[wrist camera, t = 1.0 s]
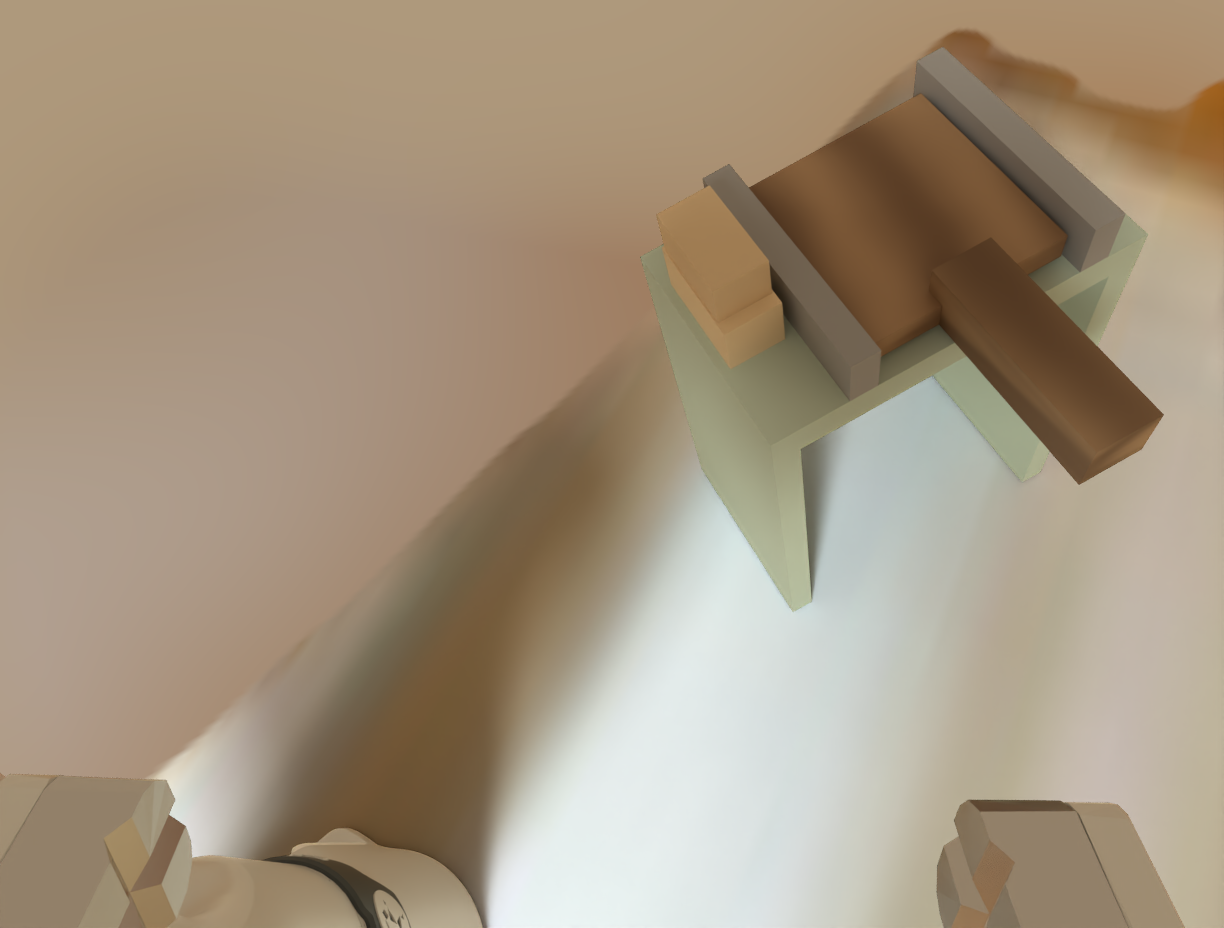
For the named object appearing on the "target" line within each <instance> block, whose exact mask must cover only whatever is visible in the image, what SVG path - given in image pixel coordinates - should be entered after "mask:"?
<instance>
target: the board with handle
mask: <svg viewBox="0 0 1224 928" xmlns="http://www.w3.org/2000/svg"><path fill="white" fill-rule="evenodd" d="M749 189H750V190H751V191H752V193H753V194H754V195H755V196H756V197H757V199H758V200H759V201H760V202H761V204H762V205H763V206H764V207H765V208H766V210H767V211H768V212H769V213H770V215H771V216H772V217H773V218H774V219H775V221H776V222H777V223H778V224H779V226H780V227H781V228H782V229H783V231H784V232H785V233H786V234H787V235H788V237H789V238H790V239H791V240H792V242H793V243H794V244H795V245H796V246H797V248H798V249H799V250H800V251H801V253H802V254H803V255H804V256H805V257H806V259H807V260H808V261H809V262H810V264H811V265H812V266H813V267H814V268H815V270H816V271H817V272H818V273H819V275H820V276H821V277H822V278H823V279H824V281H825V282H826V283H827V284H828V286H829V287H830V288H831V289H832V290H833V292H834V293H835V294H836V295H837V297H838V298H839V299H840V300H841V302H842V303H843V304H844V305H845V306H846V308H847V309H848V310H849V311H850V313H851V314H852V315H853V316H854V317H855V319H856V320H857V321H858V322H859V324H860V325H861V326H862V327H863V328H864V330H865V331H866V332H867V333H868V335H869V336H870V337H871V338H872V339H873V341H874V342H875V343H876V344H877V346H878V347H879V348H880V349H881V357H882V356H884V355H885V354H887V353H889V352H891V351H892V350H894V349H896V348H898V347H900V346H901V345H903V344H905V343H907V342H909V341H910V340H912V339H914V338H916V337H918V336H919V335H921V334H923V333H925V332H926V331H928V330H930V329H932V328H934V327H935V326H937V325H940V326H941V327H942V329H943V330H944V331H945V332H946V333H947V334H948V335H949V337H950V338H951V339H952V340H953V341H954V342H955V343H956V345H957V346H958V347H959V348H960V349H961V350H962V351H963V353H964V354H965V355H966V356H967V357H968V358H969V359H970V361H971V362H972V363H973V364H974V365H975V366H976V367H977V369H978V370H979V371H980V372H981V373H982V374H983V376H984V377H985V378H986V379H987V380H988V381H989V382H990V384H991V385H992V386H993V387H994V388H995V389H996V390H997V392H998V393H999V394H1000V395H1001V396H1002V397H1003V398H1004V400H1005V401H1006V402H1007V403H1008V404H1009V405H1010V406H1011V408H1012V409H1013V410H1014V411H1015V412H1016V413H1017V414H1018V416H1019V417H1020V418H1021V419H1022V420H1023V421H1024V422H1025V424H1026V425H1027V426H1028V427H1029V428H1030V429H1031V430H1032V432H1033V433H1034V434H1035V435H1036V436H1037V437H1038V438H1039V440H1040V441H1041V442H1042V443H1043V444H1044V445H1045V446H1046V448H1047V449H1048V450H1049V451H1050V452H1051V453H1052V455H1053V456H1054V457H1055V458H1056V459H1057V460H1058V461H1059V463H1060V464H1061V465H1062V466H1063V467H1064V468H1065V469H1066V471H1067V472H1068V473H1069V474H1070V475H1071V476H1072V477H1073V479H1074V480H1075V481H1076V482H1077V483H1078V484H1079V485H1080V484H1081V483H1083V482H1085V481H1087V480H1088V479H1090V478H1092V477H1094V476H1095V475H1097V474H1099V473H1101V472H1102V471H1104V470H1106V469H1108V468H1110V467H1111V466H1113V465H1115V464H1117V463H1118V462H1120V461H1122V460H1124V459H1125V458H1127V457H1129V456H1131V455H1132V454H1134V453H1136V452H1138V451H1139V450H1141V449H1142V448H1143V446H1144V445H1145V443H1146V442H1147V440H1148V439H1149V437H1150V435H1151V434H1152V432H1153V431H1154V429H1155V428H1156V426H1157V425H1158V423H1159V421H1160V420H1161V418H1162V417H1163V415H1164V414H1163V413H1162V412H1161V411H1160V410H1159V409H1158V408H1157V407H1156V406H1155V405H1154V404H1153V403H1152V402H1151V401H1150V400H1149V399H1148V398H1147V397H1146V396H1145V395H1144V394H1143V393H1142V392H1141V391H1140V390H1139V389H1138V388H1137V387H1136V386H1135V385H1134V384H1133V383H1132V382H1131V381H1130V380H1129V378H1128V377H1127V376H1126V375H1125V374H1124V373H1123V372H1122V371H1121V370H1120V369H1119V368H1118V367H1117V366H1116V365H1115V364H1114V363H1113V362H1112V361H1111V360H1110V359H1109V358H1108V357H1107V356H1106V355H1105V354H1104V353H1103V352H1102V351H1101V350H1100V349H1099V348H1098V347H1097V346H1096V345H1095V344H1094V342H1093V341H1092V340H1091V339H1090V338H1089V337H1088V336H1087V335H1086V334H1085V333H1084V332H1083V331H1082V330H1081V329H1080V328H1079V327H1078V326H1077V325H1076V324H1075V323H1074V322H1073V321H1072V320H1071V319H1070V318H1069V317H1068V316H1067V315H1066V314H1065V313H1064V312H1063V311H1062V310H1061V309H1060V308H1059V306H1058V305H1057V304H1056V303H1055V302H1054V301H1053V300H1052V299H1051V298H1050V297H1049V296H1048V295H1047V294H1046V293H1045V292H1044V291H1043V290H1042V289H1041V288H1040V287H1039V286H1038V285H1037V284H1036V283H1035V282H1034V281H1033V280H1032V279H1031V278H1030V277H1029V276H1028V274H1030V273H1032V272H1034V271H1036V270H1037V269H1039V268H1041V267H1043V266H1045V265H1046V264H1048V263H1050V262H1052V261H1054V260H1055V259H1057V258H1059V257H1061V255H1062V252H1063V249H1064V246H1065V243H1066V240H1067V237H1068V235H1067V234H1066V233H1065V232H1064V231H1063V230H1062V229H1061V228H1060V227H1059V226H1058V225H1057V224H1055V223H1054V222H1053V221H1052V220H1051V219H1050V218H1049V217H1048V216H1047V215H1046V214H1045V213H1044V212H1043V211H1042V210H1041V209H1040V208H1039V207H1038V206H1037V205H1036V204H1035V203H1034V202H1033V201H1032V200H1031V199H1030V198H1029V197H1028V196H1027V195H1026V194H1024V193H1023V192H1022V191H1021V190H1020V189H1019V188H1018V187H1017V186H1016V185H1015V184H1014V183H1013V182H1012V181H1011V180H1010V179H1009V178H1008V177H1007V176H1006V175H1005V174H1004V173H1003V172H1002V171H1001V170H1000V169H999V168H998V167H997V166H996V165H995V164H994V163H992V162H991V161H990V160H989V159H988V158H987V157H986V156H985V155H984V154H983V153H982V152H981V151H980V150H979V149H978V148H977V147H976V146H975V145H974V144H973V143H972V142H971V141H970V140H969V139H968V138H967V137H966V136H965V135H964V134H963V133H962V132H960V131H959V130H958V129H957V128H956V127H955V126H954V125H953V124H952V123H951V122H950V121H949V120H948V119H947V118H946V117H945V116H944V115H943V114H942V113H941V112H940V111H939V110H938V109H937V108H936V107H935V106H934V105H933V104H932V103H931V102H930V101H928V100H927V99H926V98H925V97H924V96H923V95H922V94H921V93H920V94H919V95H917V96H915V97H913V98H911V99H910V100H908V101H906V102H904V103H902V104H900V105H899V106H897V107H895V108H893V109H891V110H890V111H888V112H886V113H884V114H882V115H880V116H879V117H877V118H875V119H873V120H871V121H870V122H868V123H866V124H864V125H862V126H860V127H859V128H857V129H855V130H853V131H851V132H850V133H848V134H846V135H844V136H842V137H840V138H839V139H837V140H835V141H833V142H831V143H829V144H828V145H826V146H824V147H822V148H820V149H819V150H817V151H815V152H813V153H811V154H810V155H808V156H806V157H804V158H802V159H800V160H799V161H797V162H795V163H793V164H791V165H790V166H788V167H786V168H784V169H782V170H780V171H779V172H777V173H775V174H773V175H772V176H769V177H768V178H766V179H764V180H762V181H760V182H759V183H757V184H755V185H753V186H751V187H749Z"/></svg>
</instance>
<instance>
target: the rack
mask: <svg viewBox="0 0 1224 928" xmlns="http://www.w3.org/2000/svg"><path fill="white" fill-rule="evenodd" d="M920 93H921V94H922V95H923V96H924V97H925V98H926V99H927V100H928V101H930V102H931V103H932V104H933V105H934V106H935V107H936V108H937V109H938V110H939V111H940V112H941V113H942V114H943V115H944V116H945V117H946V118H947V119H948V120H949V121H950V122H951V123H952V124H953V125H954V126H955V127H956V128H957V129H958V130H959V131H960V132H962V133H963V134H964V135H965V136H966V137H967V138H968V139H969V140H970V141H971V142H972V143H973V144H974V145H975V146H976V147H977V148H978V149H979V150H980V151H981V152H982V153H983V154H984V155H985V156H986V157H987V158H988V159H989V160H990V161H991V162H992V163H994V164H995V165H996V166H997V167H998V168H999V169H1000V170H1001V171H1002V172H1003V173H1004V174H1005V175H1006V176H1007V177H1008V178H1009V179H1010V180H1011V181H1012V182H1013V183H1014V184H1015V185H1016V186H1017V187H1018V188H1019V189H1020V190H1021V191H1022V192H1023V193H1024V194H1026V195H1027V196H1028V197H1029V198H1030V199H1031V200H1032V201H1033V202H1034V203H1035V204H1036V205H1037V206H1038V207H1039V208H1040V209H1041V210H1042V211H1043V212H1044V213H1045V214H1046V215H1047V216H1048V217H1049V218H1050V219H1051V220H1052V221H1053V222H1054V223H1055V224H1057V225H1058V226H1059V227H1060V228H1061V229H1062V230H1063V231H1064V232H1065V233H1066V234H1067V235H1068V237H1067V240H1066V243H1065V246H1064V249H1063V252H1062V255H1061V257H1059V258H1057V259H1055V260H1054V261H1052V262H1050V263H1048V264H1046V265H1045V266H1043V267H1041V268H1039V269H1037V270H1036V271H1034V272H1032V273H1030V274H1028V276H1029V277H1030V278H1031V279H1032V280H1033V281H1034V282H1035V283H1036V284H1037V285H1038V286H1039V287H1040V288H1041V289H1042V290H1043V291H1044V292H1045V293H1046V294H1047V295H1048V296H1049V297H1050V298H1051V299H1052V300H1053V301H1054V302H1055V303H1056V304H1057V305H1058V306H1059V308H1060V309H1061V310H1062V311H1063V312H1064V313H1065V314H1066V315H1067V316H1068V317H1069V318H1070V319H1071V320H1072V321H1073V322H1074V323H1075V324H1076V325H1077V326H1078V327H1079V328H1080V329H1081V330H1082V331H1083V332H1084V333H1085V334H1086V335H1087V336H1088V337H1089V338H1090V339H1091V340H1092V341H1093V342H1094V344H1095V345H1096V346H1098V344H1099V342H1100V340H1101V337H1102V335H1103V333H1104V331H1105V329H1106V326H1107V324H1108V322H1109V320H1110V317H1111V315H1112V313H1113V311H1114V309H1115V306H1116V304H1117V302H1118V300H1119V298H1120V295H1121V293H1122V291H1123V289H1124V287H1125V284H1126V282H1127V280H1128V278H1129V276H1130V273H1131V271H1132V269H1133V267H1134V265H1135V262H1136V260H1137V258H1138V256H1139V254H1140V251H1141V249H1142V247H1143V245H1144V243H1145V240H1146V238H1147V236H1148V234H1147V233H1146V232H1145V231H1144V230H1143V229H1142V228H1141V227H1140V226H1138V225H1137V224H1136V223H1135V222H1134V221H1133V220H1132V219H1131V218H1130V217H1129V216H1127V215H1126V214H1125V213H1124V212H1123V211H1122V210H1121V209H1120V208H1119V207H1118V206H1117V205H1116V204H1115V203H1113V202H1112V201H1111V200H1110V199H1109V198H1108V197H1107V196H1106V195H1105V194H1104V193H1102V192H1101V191H1100V190H1099V189H1098V188H1097V187H1096V186H1095V185H1094V184H1093V183H1092V182H1090V181H1089V180H1088V179H1087V178H1086V177H1085V176H1084V175H1083V174H1082V173H1081V172H1079V171H1078V170H1077V169H1076V168H1075V167H1074V166H1073V165H1072V164H1071V163H1070V162H1069V161H1067V160H1066V159H1065V158H1064V157H1063V156H1062V155H1061V154H1060V153H1059V152H1058V151H1056V150H1055V149H1054V148H1053V147H1052V146H1051V145H1050V144H1049V143H1048V142H1047V141H1046V140H1044V139H1043V138H1042V137H1041V136H1040V135H1039V134H1038V133H1037V132H1036V131H1035V130H1033V129H1032V128H1031V127H1030V126H1029V125H1028V124H1027V123H1026V122H1025V121H1024V120H1023V119H1021V118H1020V117H1019V116H1018V115H1017V114H1016V113H1015V112H1014V111H1013V110H1012V109H1010V108H1009V107H1008V106H1007V105H1006V104H1005V103H1004V102H1003V101H1002V100H1001V99H999V98H998V97H997V96H996V95H995V94H994V93H993V92H992V91H991V90H990V89H989V88H987V87H986V86H985V85H984V84H983V83H982V82H981V81H980V80H979V79H978V78H976V77H975V76H974V75H973V74H972V73H971V72H970V71H969V70H968V69H967V68H966V67H964V66H963V65H962V64H961V63H960V62H959V61H958V60H957V59H956V58H955V57H953V56H952V55H951V54H950V53H949V52H948V51H947V50H946V49H945V48H944V47H942V48H940V49H938V50H936V51H934V52H933V53H931V54H929V55H927V56H925V57H923V58H922V59H920V60H918V61H917V64H916V75H915V86H914V96H913V97H915V96H917V95H919V94H920ZM703 183H704V189H702V190H700V191H698V192H697V193H695V194H693V195H691V196H689V197H688V198H686V199H684V200H682V201H680V202H678V203H677V204H675V205H673V206H671V207H669V208H667V209H665V210H664V211H662V212H660V213H658V214H657V215H656V216H657V220H658V224H659V228H660V232H661V236H662V240H663V244H662V245H661V246H659V247H657V248H655V249H653V250H652V251H650V252H648V253H646V254H644V255H643V256H641V257H640V258H641V262H642V265H643V269H644V272H645V275H646V279H647V282H648V285H649V289H650V292H651V296H652V300H653V303H654V306H655V310H656V313H657V317H658V320H659V324H660V327H661V330H662V334H663V337H664V341H665V344H666V348H667V351H668V354H669V358H670V361H671V365H672V368H673V372H674V375H675V378H676V382H677V385H678V389H679V392H680V396H681V399H682V402H683V406H684V409H685V413H686V416H687V420H688V423H689V427H690V430H691V433H692V437H693V440H694V444H695V447H696V451H697V454H698V457H699V461H700V464H701V468H702V470H703V472H704V473H705V475H706V476H707V478H708V479H709V481H710V483H711V484H712V486H713V487H714V489H715V490H716V492H717V494H718V495H719V497H720V498H721V500H722V501H723V503H724V505H725V506H726V508H727V509H728V511H729V512H730V514H731V516H732V517H733V519H734V520H735V522H736V523H737V525H738V527H739V528H740V530H741V531H742V533H743V534H744V536H745V538H746V539H747V541H748V542H749V544H750V545H751V547H752V549H753V550H754V552H755V553H756V555H757V556H758V558H759V560H760V561H761V563H762V564H763V566H764V567H765V569H766V571H767V572H768V574H769V575H770V577H771V578H772V580H773V582H774V583H775V585H776V586H777V588H778V589H779V591H780V593H781V594H782V596H783V597H784V599H785V600H786V602H787V604H788V605H789V607H790V608H791V610H792V611H793V612H794V611H796V610H798V609H800V608H801V607H803V606H805V605H807V604H808V603H810V602H812V599H811V585H810V571H809V557H808V543H807V529H806V515H805V501H804V487H803V473H802V459H801V449H802V448H804V447H805V446H807V445H809V444H811V443H813V442H814V441H816V440H818V439H820V438H821V437H823V436H825V435H827V434H829V433H830V432H832V431H834V430H836V429H838V428H839V427H841V426H843V425H845V424H846V423H848V422H850V421H852V420H854V419H855V418H857V417H859V416H861V415H863V414H864V413H866V412H868V411H870V410H871V409H873V408H875V407H877V406H879V405H880V404H882V403H884V402H886V401H887V400H889V399H891V398H893V397H895V396H896V395H898V394H900V393H902V392H904V391H905V390H907V389H909V388H911V387H912V386H914V385H916V384H918V383H920V382H921V381H923V380H925V379H927V378H929V377H930V376H933V377H934V378H935V379H936V380H937V381H938V383H939V384H940V385H941V386H942V387H943V389H944V390H945V391H946V392H947V393H948V395H949V396H950V397H951V398H952V399H953V401H954V402H955V403H956V404H957V405H958V407H959V408H960V409H961V410H962V411H963V413H964V414H965V415H966V416H967V417H968V418H969V420H970V421H971V422H972V423H973V424H974V426H975V427H976V428H977V429H978V430H979V432H980V433H981V434H982V435H983V436H984V438H985V439H986V440H987V441H988V442H989V444H990V445H991V446H992V447H993V448H994V450H995V451H996V452H997V453H998V454H999V455H1000V457H1001V458H1002V459H1003V460H1004V461H1005V463H1006V464H1007V465H1008V466H1009V467H1010V469H1011V470H1012V471H1013V472H1014V473H1015V475H1016V476H1017V477H1018V478H1019V479H1020V481H1021V482H1024V481H1025V480H1027V479H1029V478H1031V477H1032V476H1034V475H1036V474H1038V473H1040V472H1041V470H1042V467H1043V465H1044V463H1045V461H1046V459H1047V456H1048V454H1049V452H1050V451H1049V450H1048V449H1047V448H1046V446H1045V445H1044V444H1043V443H1042V442H1041V441H1040V440H1039V438H1038V437H1037V436H1036V435H1035V434H1034V433H1033V432H1032V430H1031V429H1030V428H1029V427H1028V426H1027V425H1026V424H1025V422H1024V421H1023V420H1022V419H1021V418H1020V417H1019V416H1018V414H1017V413H1016V412H1015V411H1014V410H1013V409H1012V408H1011V406H1010V405H1009V404H1008V403H1007V402H1006V401H1005V400H1004V398H1003V397H1002V396H1001V395H1000V394H999V393H998V392H997V390H996V389H995V388H994V387H993V386H992V385H991V384H990V382H989V381H988V380H987V379H986V378H985V377H984V376H983V374H982V373H981V372H980V371H979V370H978V369H977V367H976V366H975V365H974V364H973V363H972V362H971V361H970V359H969V358H968V357H967V356H966V355H965V354H964V353H963V351H962V350H961V349H960V348H959V347H958V346H957V345H956V343H955V342H954V341H953V340H952V339H951V338H950V337H949V335H948V334H947V333H946V332H945V331H944V330H943V329H942V327H941V326H940V325H937V326H935V327H934V328H932V329H930V330H928V331H926V332H925V333H923V334H921V335H919V336H918V337H916V338H914V339H912V340H910V341H909V342H907V343H905V344H903V345H901V346H900V347H898V348H896V349H894V350H892V351H891V352H889V353H887V354H885V355H884V356H882V357H881V349H880V348H879V347H878V346H877V344H876V343H875V342H874V341H873V339H872V338H871V337H870V336H869V335H868V333H867V332H866V331H865V330H864V328H863V327H862V326H861V325H860V324H859V322H858V321H857V320H856V319H855V317H854V316H853V315H852V314H851V313H850V311H849V310H848V309H847V308H846V306H845V305H844V304H843V303H842V302H841V300H840V299H839V298H838V297H837V295H836V294H835V293H834V292H833V290H832V289H831V288H830V287H829V286H828V284H827V283H826V282H825V281H824V279H823V278H822V277H821V276H820V275H819V273H818V272H817V271H816V270H815V268H814V267H813V266H812V265H811V264H810V262H809V261H808V260H807V259H806V257H805V256H804V255H803V254H802V253H801V251H800V250H799V249H798V248H797V246H796V245H795V244H794V243H793V242H792V240H791V239H790V238H789V237H788V235H787V234H786V233H785V232H784V231H783V229H782V228H781V227H780V226H779V224H778V223H777V222H776V221H775V219H774V218H773V217H772V216H771V215H770V213H769V212H768V211H767V210H766V208H765V207H764V206H763V205H762V204H761V202H760V201H759V200H758V199H757V197H756V196H755V195H754V194H753V193H752V191H751V190H750V189H749V188H748V186H747V185H746V184H745V183H744V182H743V180H742V179H741V178H740V177H739V175H738V174H737V173H736V172H735V171H734V169H733V168H732V167H731V166H730V165H729V164H728V165H727V166H725V167H723V168H721V169H719V170H717V171H715V172H714V173H712V174H710V175H708V176H707V177H705V178H703Z"/></svg>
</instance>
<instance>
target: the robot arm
mask: <svg viewBox="0 0 1224 928" xmlns="http://www.w3.org/2000/svg"><path fill="white" fill-rule="evenodd" d="M174 802H175V798H174V796H173V794H172V791H171V789H170V787H169V785H168V783H167V781H166V780H154V779H128V778H102V777H76V776H63V775H28V774H9V775H8V776H7V777H5V776H4V775H2V774H1V773H0V928H483V927H482V923H481V919H480V916H479V914H478V911H477V909H476V906H475V904H474V902H473V900H472V898H471V896H470V895H469V893H468V891H467V890H466V888H465V887H464V886H463V884H462V883H461V882H460V881H459V879H458V878H457V877H456V876H455V875H454V874H453V873H452V872H451V871H450V870H449V869H447V868H446V867H445V866H444V865H442V864H441V863H439V862H438V861H436V860H435V859H433V858H431V857H429V856H427V855H424V854H421V853H419V852H415V851H411V850H406V849H398V848H389V847H384V846H380V845H377V844H376V843H374V842H373V841H372V840H370V839H369V838H367V837H366V836H364V835H363V834H361V833H360V832H358V831H356V830H354V829H351V828H336V829H334V830H332V831H330V832H329V833H328V834H326V835H325V836H324V837H323V838H322V839H320V840H319V841H318V842H317V843H303V844H299V845H297V846H295V847H293V848H292V852H291V854H290V855H289V856H288V855H285V856H281V857H273V858H269V859H265V860H252V859H243V858H234V857H225V856H216V855H208V856H200V857H194V858H192V849H191V840H190V837H189V834H188V831H187V829H186V826H185V825H183V824H182V823H180V822H179V821H177V820H176V819H174V818H173V817H172V816H170V815H169V813H170V811H171V808H172V806H173V804H174ZM954 822H955V826H956V829H957V832H958V835H959V837H957V838H955V839H954V840H952V841H951V842H949V843H948V844H946V845H944V847H943V850H942V853H941V856H940V859H939V862H938V865H937V898H938V904H939V911H940V916H941V920H942V923H943V927H944V928H1185V927H1184V925H1183V923H1182V921H1181V919H1180V917H1179V915H1178V913H1177V911H1176V909H1175V907H1174V905H1173V903H1172V901H1171V899H1170V897H1169V895H1168V893H1167V891H1166V889H1165V887H1164V885H1163V883H1162V881H1161V879H1160V877H1159V875H1158V873H1157V871H1156V869H1155V867H1154V865H1153V863H1152V861H1151V859H1150V858H1149V856H1148V854H1147V852H1146V850H1145V848H1144V846H1143V844H1142V842H1141V840H1140V838H1139V836H1138V834H1137V832H1136V830H1135V828H1134V826H1133V824H1132V822H1131V820H1130V818H1129V816H1128V814H1127V813H1126V812H1125V811H1124V810H1123V809H1122V808H1121V807H1120V806H1119V805H1117V804H1112V803H1080V802H1062V801H1046V800H967V801H966V802H964V803H963V804H961V805H960V806H959V809H958V811H957V814H956V816H955V819H954Z"/></svg>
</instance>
